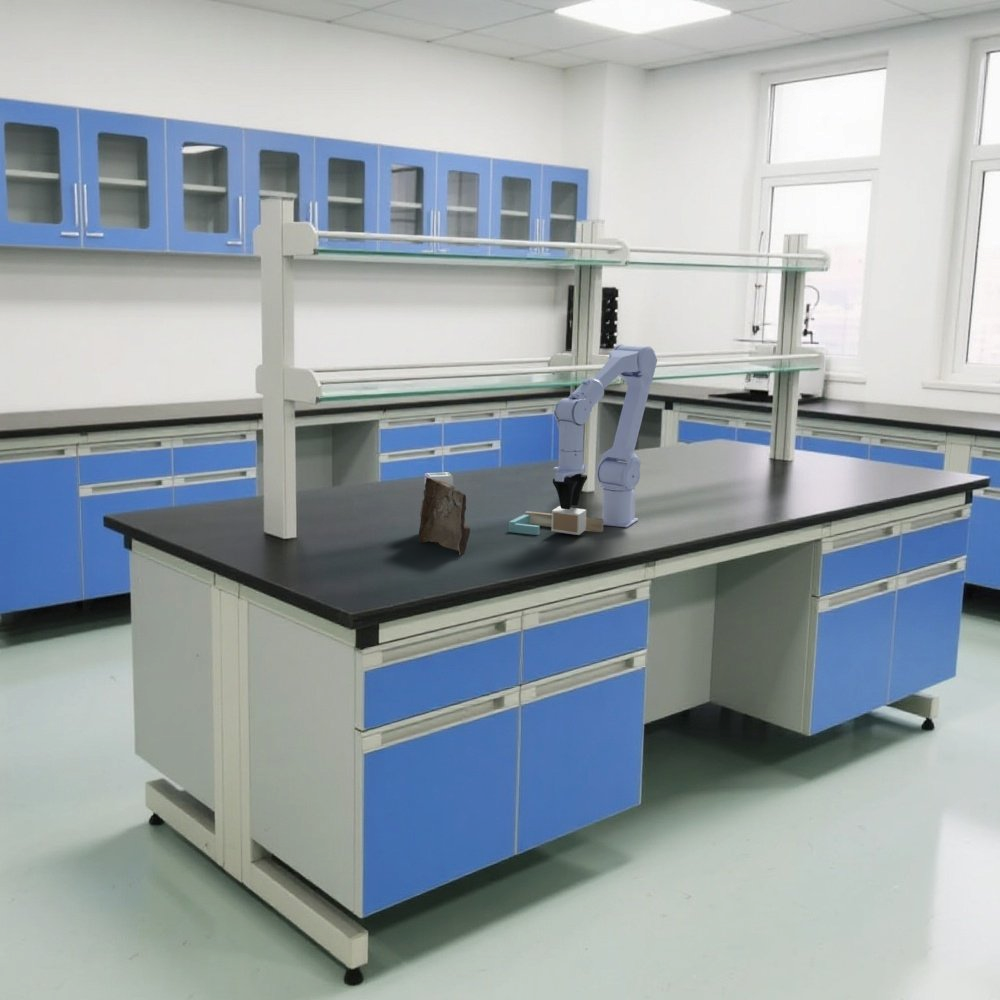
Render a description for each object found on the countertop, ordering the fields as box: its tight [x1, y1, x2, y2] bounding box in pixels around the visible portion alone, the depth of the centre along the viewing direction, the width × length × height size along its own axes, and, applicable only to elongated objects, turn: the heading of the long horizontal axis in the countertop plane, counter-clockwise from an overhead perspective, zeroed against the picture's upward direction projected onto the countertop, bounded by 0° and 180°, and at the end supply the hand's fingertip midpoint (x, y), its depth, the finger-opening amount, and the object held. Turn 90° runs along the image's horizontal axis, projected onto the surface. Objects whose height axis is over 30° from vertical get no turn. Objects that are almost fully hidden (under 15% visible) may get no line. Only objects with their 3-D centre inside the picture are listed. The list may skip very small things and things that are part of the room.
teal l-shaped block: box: [508, 513, 541, 536], centre depth 268 cm, size 10×8×2 cm
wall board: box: [524, 510, 604, 533], centre depth 270 cm, size 1×20×3 cm, turn 65°
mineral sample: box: [418, 478, 471, 556], centre depth 247 cm, size 17×4×15 cm, turn 37°
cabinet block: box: [550, 505, 587, 536], centre depth 262 cm, size 5×7×5 cm
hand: (569, 506), depth 261 cm, fingers open, 4 cm apart
